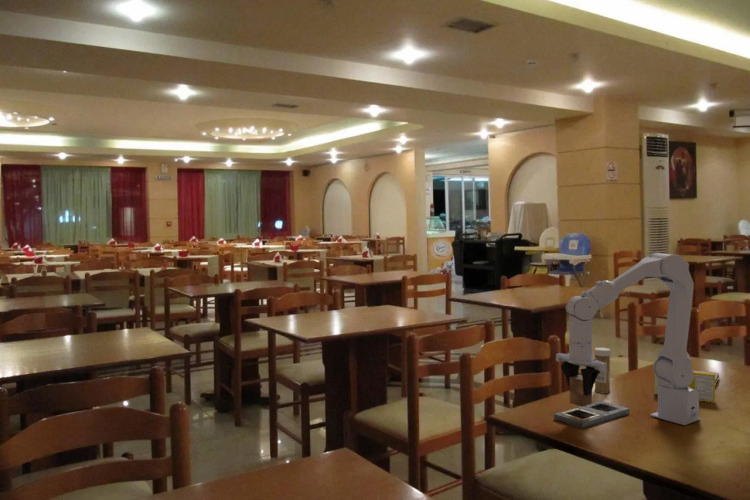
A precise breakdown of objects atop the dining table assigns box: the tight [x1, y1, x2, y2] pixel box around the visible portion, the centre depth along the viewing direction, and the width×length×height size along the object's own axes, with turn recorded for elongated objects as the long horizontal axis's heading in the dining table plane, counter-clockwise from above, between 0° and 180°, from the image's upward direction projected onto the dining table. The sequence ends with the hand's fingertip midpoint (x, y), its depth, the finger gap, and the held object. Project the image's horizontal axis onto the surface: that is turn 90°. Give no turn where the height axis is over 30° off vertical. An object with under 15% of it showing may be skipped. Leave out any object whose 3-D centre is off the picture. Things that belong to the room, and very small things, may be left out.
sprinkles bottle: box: [594, 347, 611, 394], centre depth 187 cm, size 5×5×14 cm
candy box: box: [653, 371, 716, 404], centre depth 180 cm, size 16×2×8 cm, turn 52°
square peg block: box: [569, 374, 593, 407], centre depth 161 cm, size 4×4×7 cm
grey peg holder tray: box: [553, 400, 630, 430], centre depth 164 cm, size 9×20×2 cm, turn 124°
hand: (580, 392), depth 161 cm, fingers closed on square peg block, 4 cm apart
